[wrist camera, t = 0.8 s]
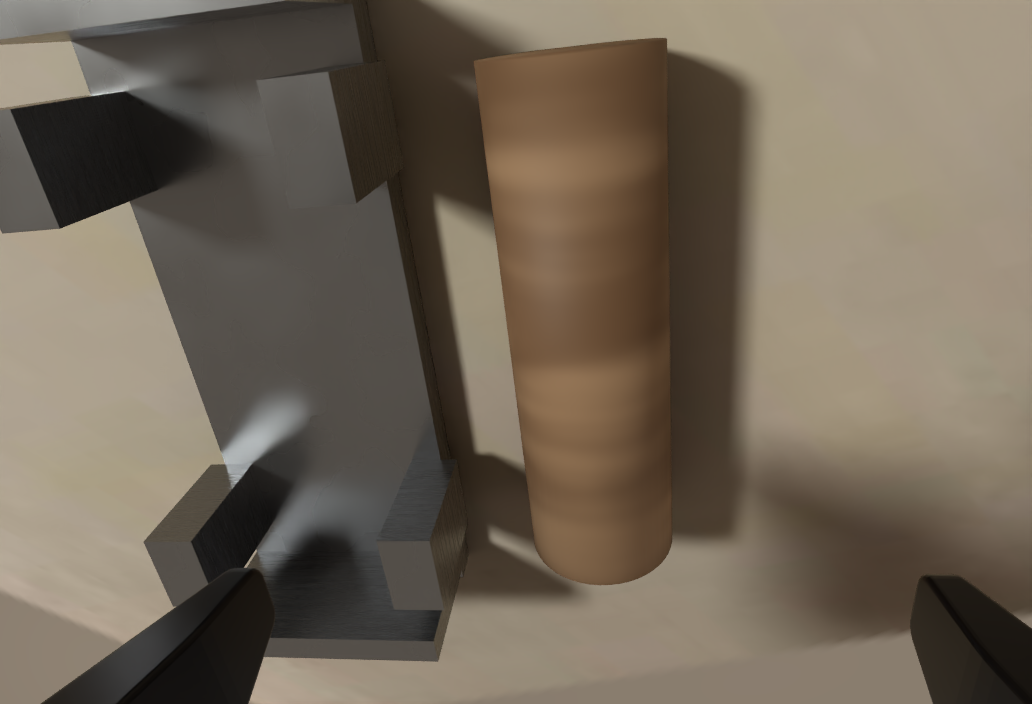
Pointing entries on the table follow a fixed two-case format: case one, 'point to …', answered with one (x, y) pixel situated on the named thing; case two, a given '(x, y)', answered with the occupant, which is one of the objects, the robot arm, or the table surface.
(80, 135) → the cradle
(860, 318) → the table surface
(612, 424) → the cylinder
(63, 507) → the table surface
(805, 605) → the table surface
